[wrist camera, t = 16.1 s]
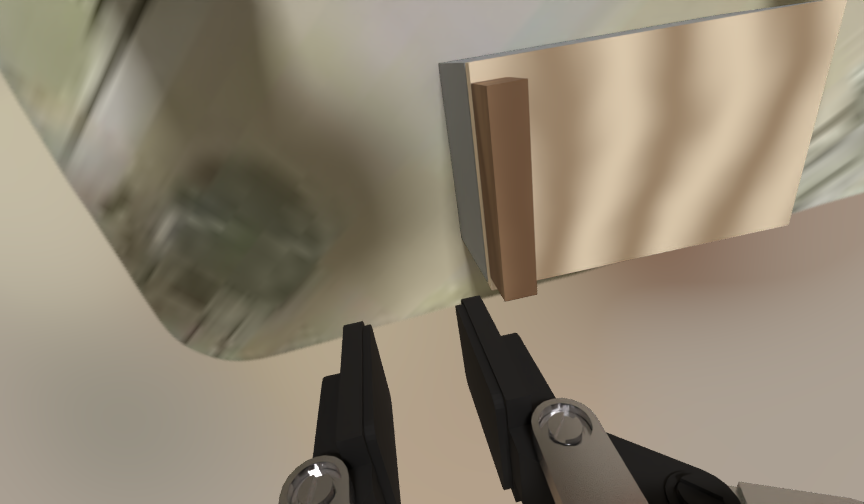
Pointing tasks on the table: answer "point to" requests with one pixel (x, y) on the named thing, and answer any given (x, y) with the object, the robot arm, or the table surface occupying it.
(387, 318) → the table surface
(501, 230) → the lid
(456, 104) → the grey open box
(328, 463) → the robot arm
